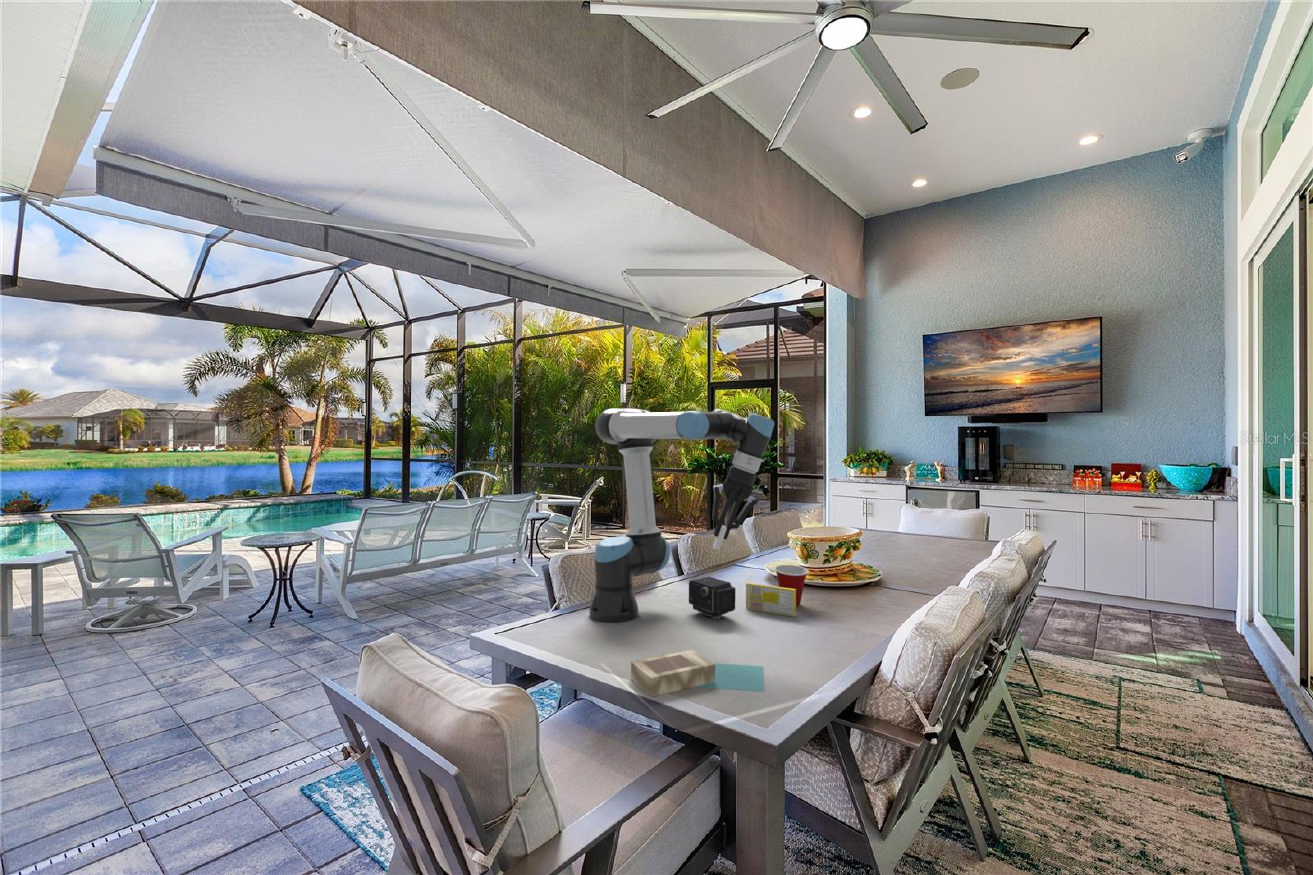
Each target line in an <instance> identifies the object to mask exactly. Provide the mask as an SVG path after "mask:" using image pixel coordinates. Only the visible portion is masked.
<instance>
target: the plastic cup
mask: <svg viewBox="0 0 1313 875" xmlns="http://www.w3.org/2000/svg"><path fill="white" fill-rule="evenodd" d="M774 571H775V574H776V577H777V582H778V587H783V588H791V589H796V608H797V607H799V606H800V605H801V602H802V596H803V591H804V588H805V587H804V586H805V580H806V578H807V575H808V574H809V570H808V569H807V568H806V567H804V566H800V565H794V564H780V565H777V566H775V567H774Z"/></svg>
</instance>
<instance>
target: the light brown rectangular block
mask: <svg viewBox="0 0 1313 875" xmlns="http://www.w3.org/2000/svg"><path fill="white" fill-rule="evenodd" d="M714 663H715V662H712V661H711V660H709V659H708V658H706V657H704V656H703V655H701V654H700V653H697V652H696V651H695V650H693V649H689V650H688V649H687V650H685V651H684V650H683V651H679V652H674V653H668V654H664V655H659V656H654V657H648V658H643V659H637V660H635V661H634V660H632V661H631V662H630V680H631V681H632V682H633V683H635V685H636V686H638V687H639V688H640V689H642V690H643V691H644V692H645V693H646V694H647V695H648V696H650V697H651V698H652V697H656V696H661V695H665V694H666V695H667V694H669V693H674V692H677V691H683V690H688V689H691V688H697V687H696V686H700V685H705V684H709V683H713V682H715V664H714Z"/></svg>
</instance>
